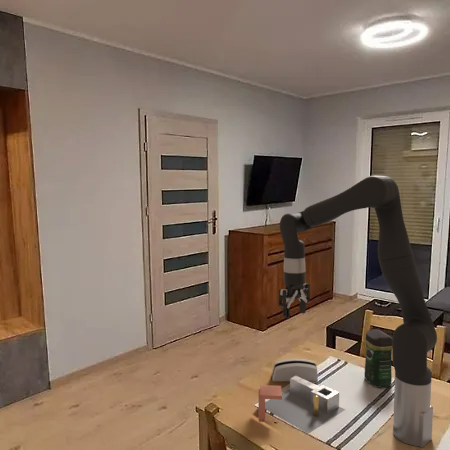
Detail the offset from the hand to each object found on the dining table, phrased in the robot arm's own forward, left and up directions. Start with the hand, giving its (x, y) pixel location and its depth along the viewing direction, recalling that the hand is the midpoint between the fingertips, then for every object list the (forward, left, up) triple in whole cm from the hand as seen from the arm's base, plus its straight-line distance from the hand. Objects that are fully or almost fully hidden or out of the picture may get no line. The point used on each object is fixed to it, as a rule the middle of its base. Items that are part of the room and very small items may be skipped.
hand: (294, 315), depth 141 cm
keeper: (-9, +21, -25) cm, 34 cm away
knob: (-18, +11, -25) cm, 33 cm away
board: (-12, +11, -25) cm, 30 cm away
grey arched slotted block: (+1, -2, -26) cm, 26 cm away
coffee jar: (-19, -24, -26) cm, 40 cm away
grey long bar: (-12, +5, -25) cm, 28 cm away
